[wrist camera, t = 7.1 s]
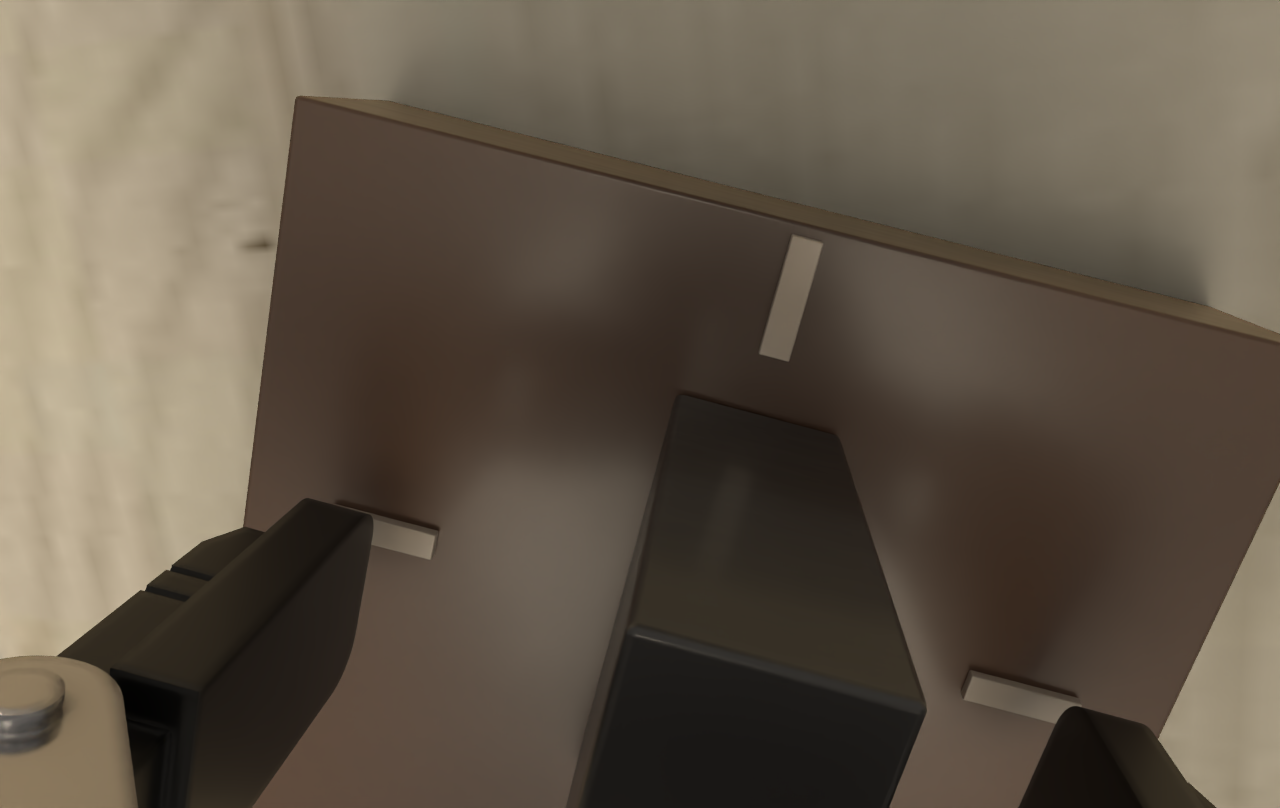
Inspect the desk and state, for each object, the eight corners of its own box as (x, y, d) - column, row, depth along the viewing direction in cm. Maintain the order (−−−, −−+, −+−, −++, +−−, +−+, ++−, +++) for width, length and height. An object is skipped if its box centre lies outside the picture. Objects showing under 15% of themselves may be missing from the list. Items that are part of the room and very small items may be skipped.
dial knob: (677, 391, 11) (623, 645, 6) (840, 434, 11) (941, 731, 6) (574, 768, 13) (457, 1244, 7) (718, 808, 13) (705, 1315, 7)
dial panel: (1212, 306, 13) (1350, 361, 10) (973, 867, 16) (1026, 1035, 13) (386, 99, 14) (287, 93, 11) (298, 687, 17) (201, 813, 14)
